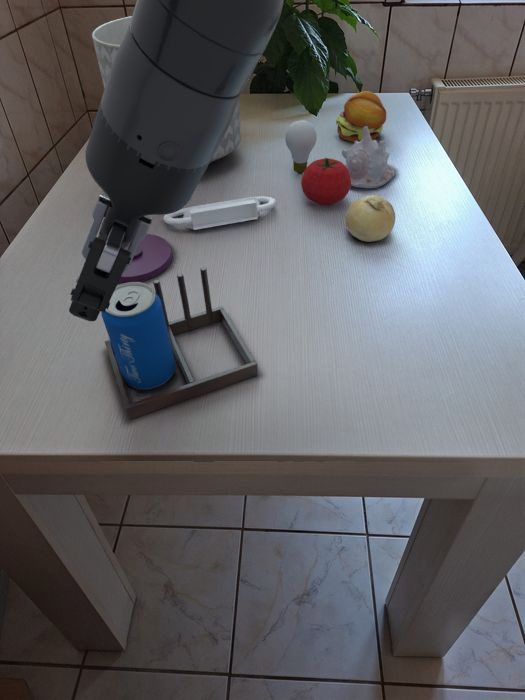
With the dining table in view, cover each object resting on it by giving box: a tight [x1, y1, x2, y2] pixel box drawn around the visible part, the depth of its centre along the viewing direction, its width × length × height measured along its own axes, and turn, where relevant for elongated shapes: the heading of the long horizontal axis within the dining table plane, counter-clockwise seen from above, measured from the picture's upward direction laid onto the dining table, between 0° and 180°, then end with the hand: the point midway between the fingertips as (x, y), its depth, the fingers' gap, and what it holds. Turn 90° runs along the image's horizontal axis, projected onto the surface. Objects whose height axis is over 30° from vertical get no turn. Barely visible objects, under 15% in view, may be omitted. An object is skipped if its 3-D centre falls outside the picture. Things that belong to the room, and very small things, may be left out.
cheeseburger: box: [335, 90, 387, 143], centre depth 108 cm, size 10×11×10 cm
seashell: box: [341, 126, 396, 189], centre depth 94 cm, size 10×12×9 cm
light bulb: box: [284, 119, 317, 175], centre depth 95 cm, size 6×6×10 cm
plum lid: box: [118, 233, 173, 284], centre depth 78 cm, size 12×12×2 cm
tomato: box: [300, 156, 352, 207], centre depth 88 cm, size 9×9×8 cm
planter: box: [91, 15, 242, 163], centre depth 96 cm, size 25×25×24 cm
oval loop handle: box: [163, 195, 277, 231], centre depth 87 cm, size 20×8×4 cm, turn 106°
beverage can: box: [100, 282, 176, 390], centre depth 57 cm, size 6×6×12 cm
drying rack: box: [104, 266, 259, 420], centre depth 59 cm, size 16×12×9 cm
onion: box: [344, 194, 396, 243], centre depth 80 cm, size 8×8×7 cm
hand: (96, 278), depth 43 cm, fingers open, 8 cm apart
